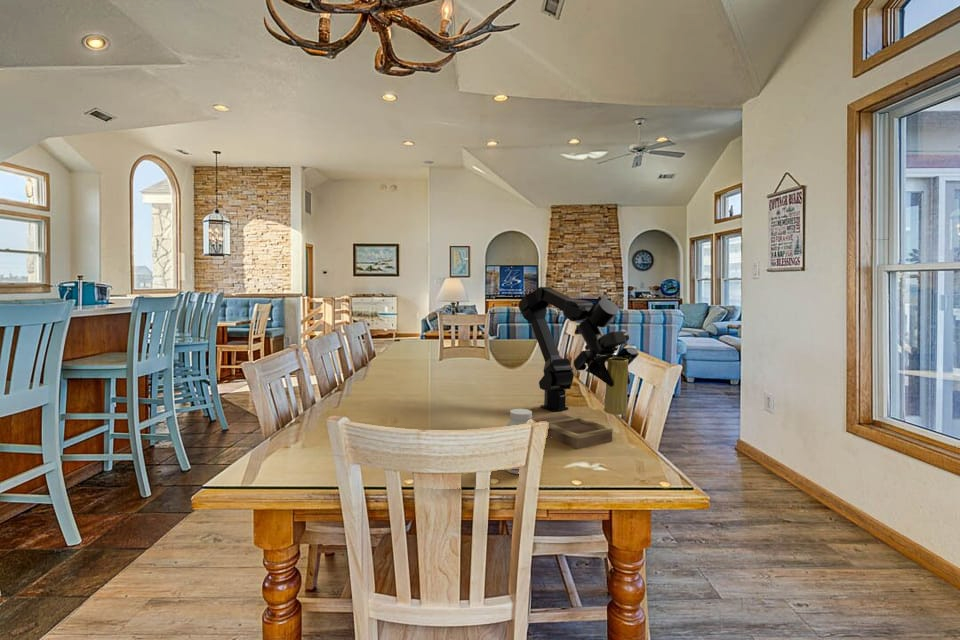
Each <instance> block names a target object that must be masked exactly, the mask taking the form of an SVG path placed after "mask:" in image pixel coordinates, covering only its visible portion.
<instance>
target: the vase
mask: <svg viewBox="0 0 960 640" xmlns="http://www.w3.org/2000/svg"><path fill="white" fill-rule="evenodd" d="M606 368H607V370H608V372H609V375H610V377H611V379H612V381H613V384H614V385H613V386H612V387H610V386H609V385H608V384H606V383H605V392H604V394H605V395H604V407H603V412H604V413H606V414H610V415H618V416H620V415H625V414H628V385H627V383H628V380H627V379H628V372H629V365H628V359H626V358H619V357H612V358H608V362H607V367H606Z"/></svg>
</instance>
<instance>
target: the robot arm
mask: <svg viewBox="0 0 960 640" xmlns="http://www.w3.org/2000/svg"><path fill="white" fill-rule="evenodd" d="M550 305H551V306H553V307H555V308H557V309H559V310H560V311H562V312H563V316H564V317H565V318H567V319H568V320H569V321H570V322H580V323H579V324H576V328H575V330H574V335H576V336H577V335H581V337H582V338H583V340H584V341H585V344H586V345H585V346H584V349H585V350H581V351H580V352H579V354H578V355H577V356H576V358H574V360H573V367H574V368H573V367H572V365H571V361H570V360H569V358H567V357H566V358H563V357H561V355H560V352H559V350H558V348H557V345H556V343H555V339H554V338H553V335H552V333H551V332H552V331H551V330H550V327H549V325H548V322H547V320H546V315H547V312H548V309H547V308H548V307H549V306H550ZM518 308H519V312H520V313H521V315H522V317H523V319H525V320H526V321H527V322H528V323H529V324H530V325H531V327H532V330H533V333H534V337H535V338H536V341H537V343H538V346H539V349H540V351H541V354H542V357H543V359H544V367H543V370H542V371H543V376H542V377H541V379H540V380H539V381H538V387H539V389H540V390H543V391H544V399H543V400H544V401H543V404H541V405H540V406H539V407H540V408H542V409H545V410H547V411H551V412H557V411H558V412H559V411H565V410H569V409H570V407H568V406H566V401H567V400H566V398H567V395H566V390H571V387H572V384H573V380H574V376H575V375H574V372H573V371H574V369H575V370H576V371H577V372H578V371H579V372H580V371H586V372H587V373H590V374H591V375H593V376H595V377H596V378H598V379H599V380H600V381H602V382H603V383H604V384H605V385H606V384H608V385H609V386H610V387H612V386H613V385H614V384H613V381H612V379H611V377H610V375H609V372H608V370H607V367H606V363H608V358H612V357H619V358H626V359H628V366H630V365H631V363H633V361H634V360H635V359H636V358H637V357H638V356H639V352H638V349H636V348H635V347H622V348H621V350H620V351H619V352H618V353H617V352H616V351H618V350H619V346H620V345H623V344H624V345H625V344H627V342H628V341H629V340H630V335H629V333H628V332H627V330H626V329H619V330H616V331H610V332H608V333H605V332H604V330H603V329H602V328H605V327H607V326H608V325H609V324H610V323H611V322H612V320H613V319H614V318H615V317H616V316H617V314H618V313H619V307H618V305H617V304H616V303H614V302H613V301H612V300H609V299H607V297H606V296H598V297H597V299H596V301H595V302H594V303H592V302H591V301H590V300H584V299H583V300H582V299H577V298H576V299H575V298H572V297H570V296H568V295H566V294H564V293H562V292H560V291H557V290H555V289H554V288H553V287H551V286H540V287H537V288H536V289H535V290H534V291H531V292H530V293H528V294H526V295H525V296H523V297H522V298H521V300H520V301H519V302H518ZM627 380H628V383H627V386H628V385H629V384H630V383H631V382H630V381H631V380H630V373H629V371H628V379H627Z"/></svg>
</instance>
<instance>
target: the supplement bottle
mask: <svg viewBox="0 0 960 640" xmlns="http://www.w3.org/2000/svg"><path fill="white" fill-rule="evenodd" d="M532 417H533V411H532V410H531V409H528V408H527V409H526V408H513V409H510V410H509V418H510V421H507V423H506V424H505V426H511V425H519V424H524V423H526V422H527V421H528V420H530V419H531V418H532ZM505 471H507V472H508V473H511V474H513V475H518V472H519V469H511V470H506V469H505Z"/></svg>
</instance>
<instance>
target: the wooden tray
mask: <svg viewBox="0 0 960 640" xmlns="http://www.w3.org/2000/svg"><path fill="white" fill-rule="evenodd" d="M531 419H533V420H534V421H536V422H539V421H547V422H549V429H548V436H549V437H548V438H550V437H552V438H554V439H556V440H555V441H557V440H558V441H557V442H559V441H560V443H561V442H562V444H563V445H566V446H568V447H571V448H573V449H575V450H579V449H582V448H587V447H588V446H589V447H591V446H592V445H593V446H596V445H597V444H598V445H602V444H605V442H607V443H610V442H609V441H612V442H613V428H611V427H609V426H606V425H603V424H601V423H599V422H598V423H597V422H594V421H593V420H592V421H591V420H589V419H586V418H583V417H580V416H578V417H572V416H570V415H567V414H564V413H561V412H558V413H552V414H544V415H539V416H532V418H531ZM552 438H551V439H552ZM554 439H553V440H554ZM601 443H602V444H601Z"/></svg>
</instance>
